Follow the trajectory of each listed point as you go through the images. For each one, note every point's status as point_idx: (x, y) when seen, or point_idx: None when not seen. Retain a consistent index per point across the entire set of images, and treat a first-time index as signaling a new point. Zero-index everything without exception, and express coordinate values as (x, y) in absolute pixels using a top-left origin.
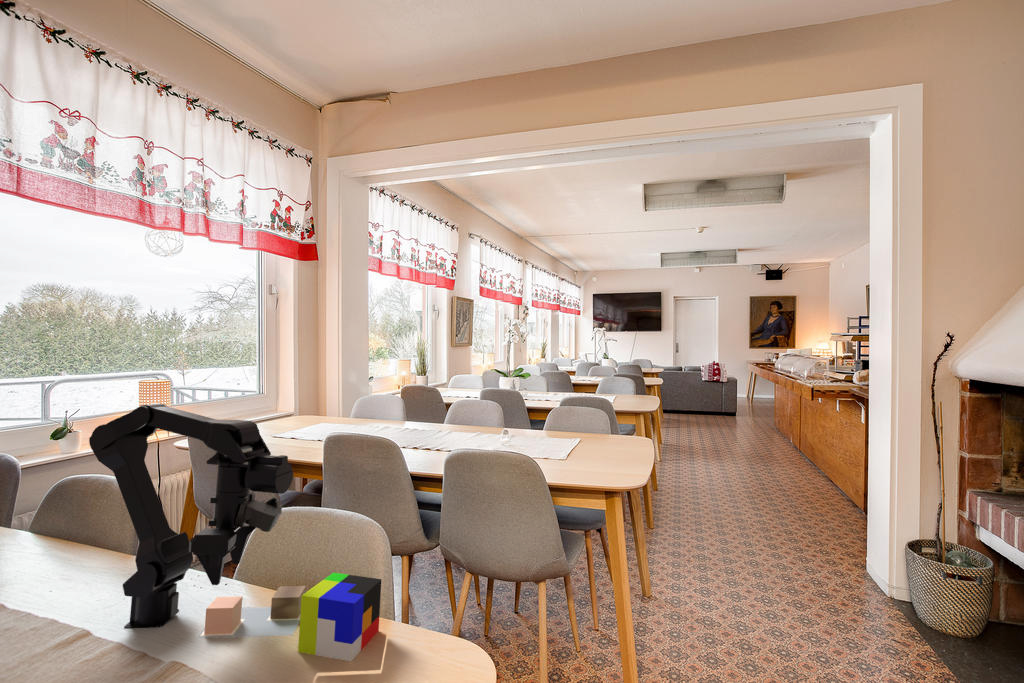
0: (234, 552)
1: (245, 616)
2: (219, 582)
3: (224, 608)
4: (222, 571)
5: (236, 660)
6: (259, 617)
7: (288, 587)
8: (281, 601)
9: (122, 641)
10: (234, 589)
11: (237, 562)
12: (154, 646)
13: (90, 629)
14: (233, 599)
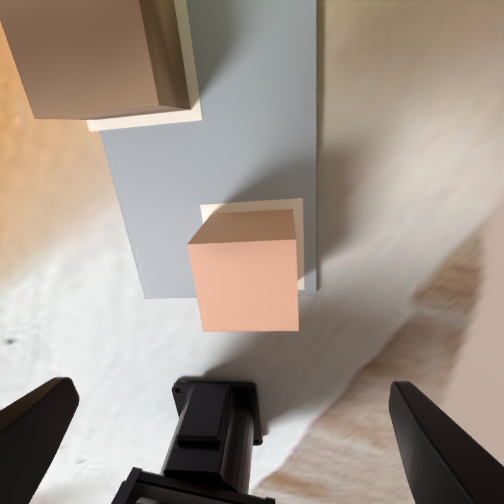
0: (15, 481)
1: (182, 210)
2: (407, 387)
3: (295, 270)
4: (448, 462)
5: (457, 116)
6: (182, 159)
7: (30, 60)
8: (156, 49)
9: (307, 422)
10: (28, 311)
11: (64, 390)
12: (334, 363)
13: (258, 479)
14: (217, 268)
